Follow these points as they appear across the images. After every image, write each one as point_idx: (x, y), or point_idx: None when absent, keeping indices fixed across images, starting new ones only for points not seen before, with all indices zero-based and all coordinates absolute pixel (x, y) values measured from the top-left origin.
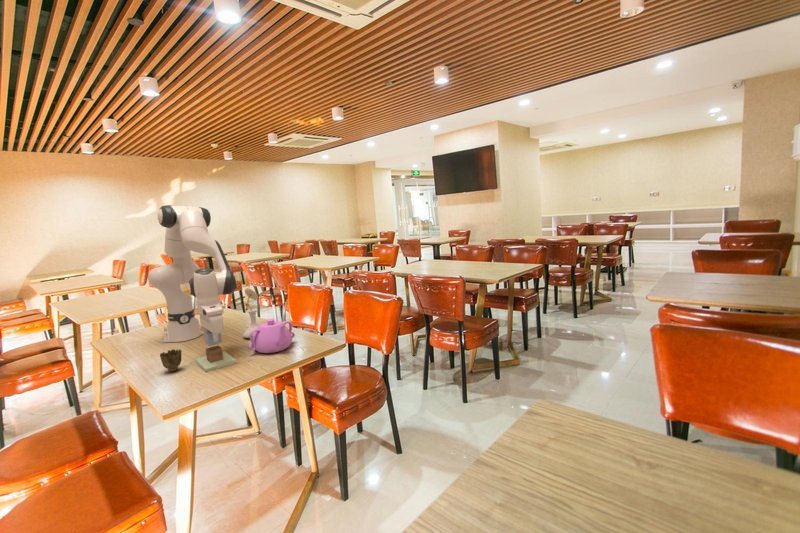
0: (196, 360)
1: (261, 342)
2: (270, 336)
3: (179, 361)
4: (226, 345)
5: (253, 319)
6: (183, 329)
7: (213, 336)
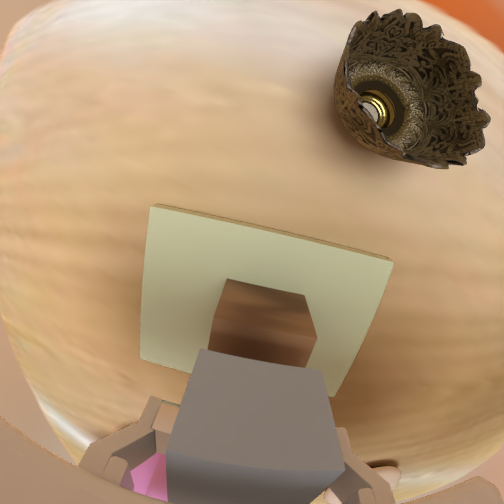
0: (362, 254)
1: None
2: None
3: (344, 121)
4: (404, 417)
5: None
6: None
7: (114, 433)
